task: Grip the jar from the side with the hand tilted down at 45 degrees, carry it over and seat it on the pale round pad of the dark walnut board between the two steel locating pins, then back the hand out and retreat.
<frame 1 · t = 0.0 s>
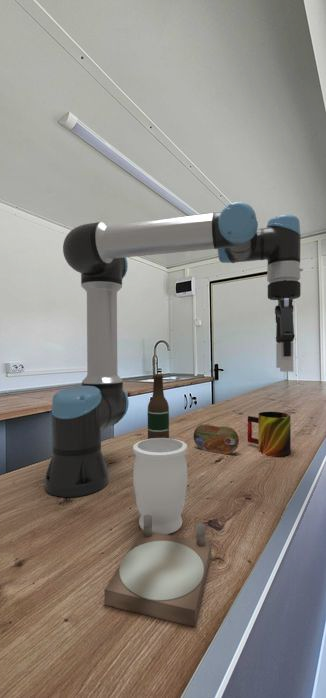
hand: (284, 369, 78), 28 cm above the counter, tool pointing down, fingers open, 13 cm apart
beer bottle: (158, 442, 114), on the counter
mug: (267, 452, 102), on the counter
seat board: (163, 576, 47), on the counter
tin: (215, 451, 103), on the counter
jar: (160, 524, 61), on the counter
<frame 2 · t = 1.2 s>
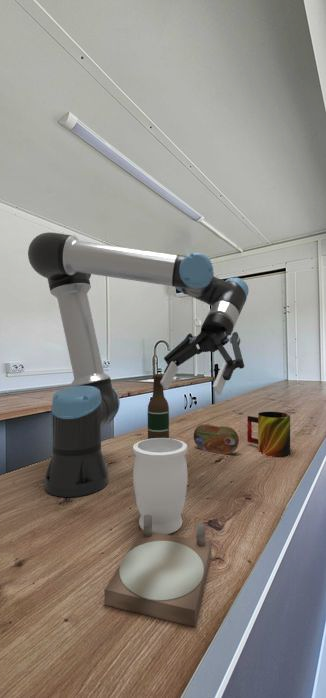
hand: (188, 388, 70), 25 cm above the counter, tool tilted 45°, fingers open, 13 cm apart
nothing on the counter moved.
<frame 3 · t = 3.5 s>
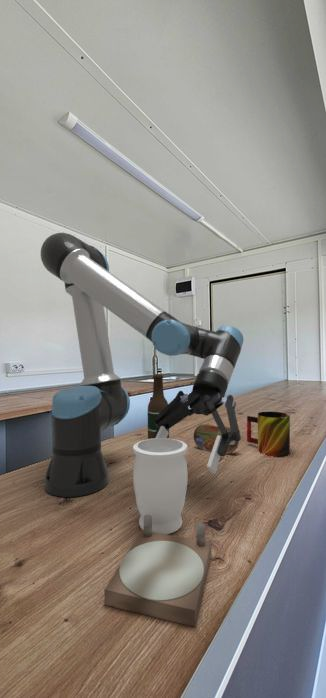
hand: (180, 462, 63), 11 cm above the counter, tool tilted 45°, fingers open, 13 cm apart
nothing on the counter moved.
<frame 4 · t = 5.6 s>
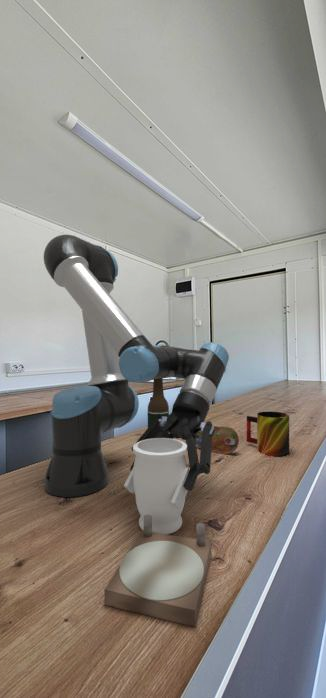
hand: (150, 497, 58), 6 cm above the counter, tool tilted 45°, fingers closed on jar, 10 cm apart
jar: (160, 524, 61), on the counter, touching gripper
everything else where it was.
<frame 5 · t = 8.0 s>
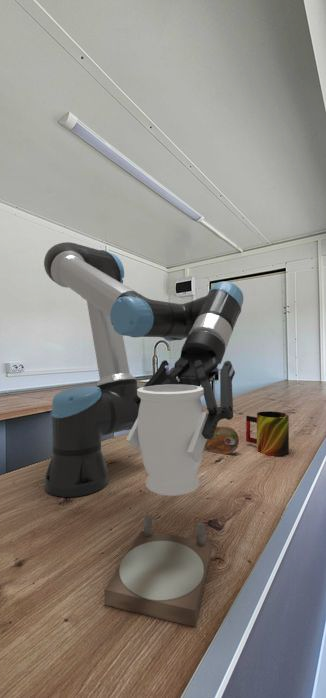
hand: (160, 450, 47), 18 cm above the counter, tool tilted 45°, fingers closed on jar, 10 cm apart
jar: (172, 485, 49), point 12 cm above the counter, touching gripper
everything else where it was.
when the fingers open (10 cm above the counter, at t = 10.4 s): jar drops 1 cm, resting on seat board.
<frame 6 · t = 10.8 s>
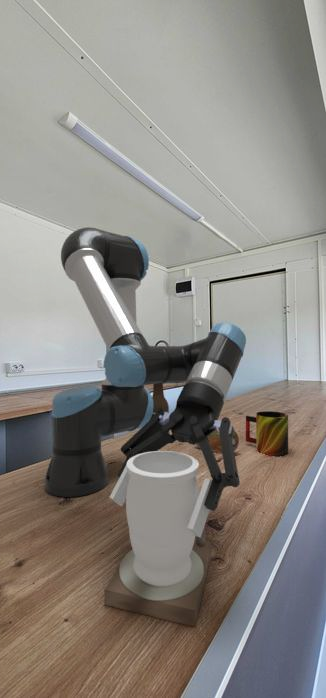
hand: (151, 516, 44), 10 cm above the counter, tool tilted 45°, fingers open, 13 cm apart
jar: (162, 567, 46), point 2 cm above the counter, touching seat board
everything else where it was.
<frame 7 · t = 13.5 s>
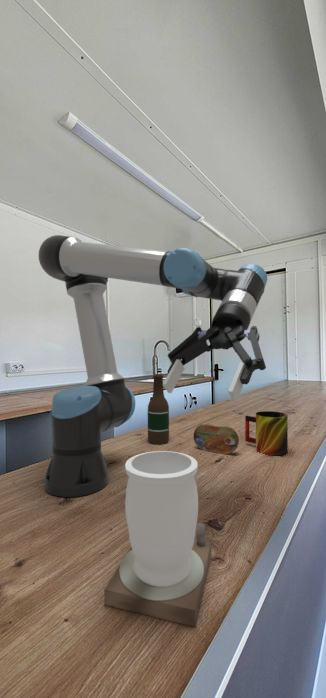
hand: (197, 392, 57), 25 cm above the counter, tool tilted 45°, fingers open, 13 cm apart
nothing on the counter moved.
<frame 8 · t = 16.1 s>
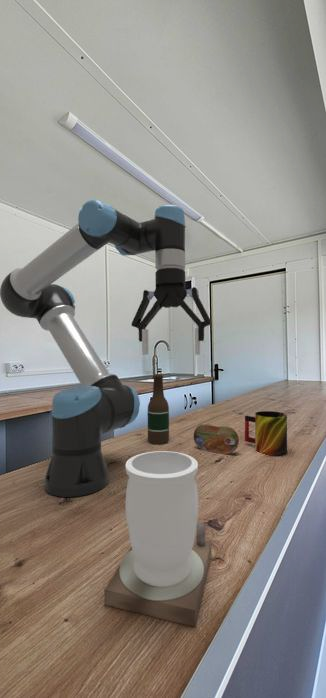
hand: (170, 354, 80), 32 cm above the counter, tool pointing down, fingers open, 13 cm apart
at the end: jar inside the target area on the seat board (0.1 cm from its centre), point 2.0 cm above the seat board's base; jar tilted 0°; the gripper is holding nothing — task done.
